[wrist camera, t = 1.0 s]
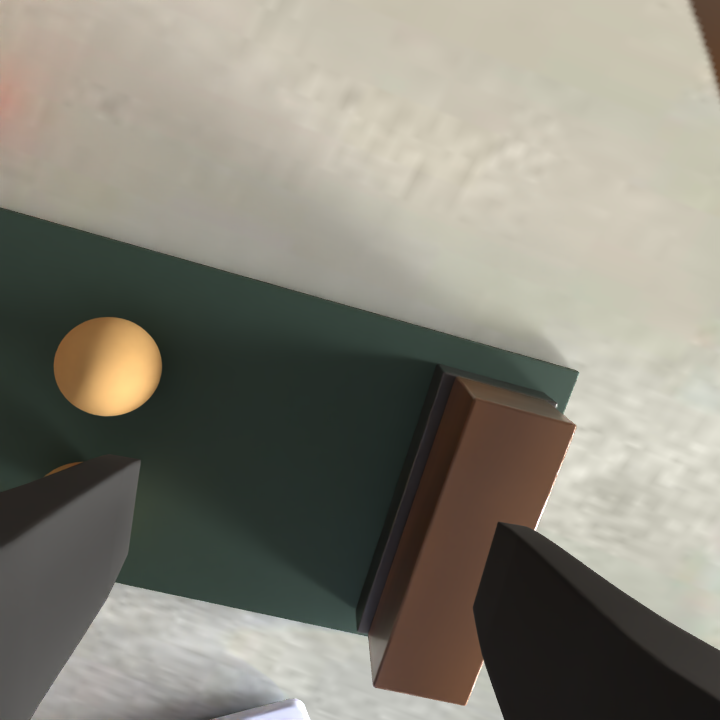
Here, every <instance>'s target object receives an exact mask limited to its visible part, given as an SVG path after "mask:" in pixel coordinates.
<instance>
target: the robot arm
mask: <svg viewBox="0 0 720 720" xmlns="http://www.w3.org/2000/svg"><path fill="white" fill-rule="evenodd" d="M140 463H141V459H135V458H129V457H123V456H118V455H112V454H107V455H102V456H99V457H96V458H93V459H90V460H87V461H85V462H82V463H79V464H77V465H74V466H72V467H69V468H66V469H64V470H61V471H58V472H56V473H53V474H51V475H48V476H45V477H43V478H40V479H37V480H35V481H32V482H29V483H27V484H24V485H21V486H18V487H15V488H12V489H9V490H6V491H3V492H0V720H30V719H31V717H32V716H33V714H34V712H35V711H36V709H37V707H38V705H39V704H40V702H41V701H42V699H43V698H44V696H45V695H46V693H47V692H48V690H49V688H50V687H51V685H52V684H53V682H54V681H55V679H56V678H57V676H58V674H59V673H60V671H61V670H62V668H63V667H64V665H65V664H66V662H67V661H68V659H69V657H70V656H71V654H72V653H73V651H74V650H75V648H76V647H77V645H78V644H79V642H80V640H81V639H82V637H83V636H84V634H85V633H86V631H87V629H88V628H89V626H90V625H91V623H92V622H93V620H94V618H95V617H96V615H97V614H98V612H99V611H100V609H101V607H102V606H103V604H104V603H105V601H106V599H107V597H108V595H109V593H110V591H111V589H112V587H113V585H114V583H115V581H116V579H117V577H118V574H119V572H120V570H121V568H122V566H123V563H124V561H125V559H126V557H127V555H128V549H129V542H130V535H131V528H132V521H133V513H134V506H135V499H136V492H137V485H138V478H139V470H140ZM473 613H474V619H475V624H476V630H477V635H478V639H479V644H480V649H481V653H482V657H483V660H484V663H485V666H486V669H487V672H488V675H489V677H490V680H491V683H492V686H493V689H494V692H495V695H496V698H497V700H498V703H499V706H500V709H501V712H502V714H503V717H504V720H720V650H718V649H716V648H714V647H713V646H711V645H709V644H707V643H705V642H704V641H702V640H700V639H698V638H697V637H695V636H693V635H691V634H690V633H688V632H686V631H684V630H682V629H681V628H679V627H677V626H676V625H674V624H672V623H671V622H669V621H667V620H666V619H664V618H662V617H661V616H659V615H658V614H656V613H655V612H653V611H652V610H650V609H648V608H647V607H645V606H644V605H642V604H641V603H639V602H638V601H636V600H635V599H633V598H632V597H630V596H629V595H627V594H626V593H624V592H623V591H621V590H620V589H618V588H617V587H615V586H614V585H613V584H611V583H610V582H608V581H607V580H605V579H604V578H603V577H601V576H600V575H598V574H597V573H596V572H594V571H593V570H591V569H590V568H589V567H587V566H586V565H584V564H583V563H582V562H580V561H579V560H577V559H576V558H575V557H573V556H572V555H570V554H569V553H568V552H566V551H565V550H563V549H562V548H561V547H559V546H558V545H556V544H555V543H553V542H552V541H550V540H549V539H547V538H546V537H544V536H543V535H541V534H540V533H538V532H536V531H535V530H533V529H531V528H529V527H527V526H521V525H516V524H510V523H504V522H498V523H497V527H496V530H495V533H494V537H493V540H492V544H491V547H490V550H489V554H488V557H487V561H486V564H485V567H484V571H483V574H482V577H481V581H480V584H479V588H478V591H477V594H476V598H475V601H474V604H473ZM210 720H309V717H308V714H307V711H306V708H305V705H304V704H303V702H301V701H300V700H298V699H294V698H293V699H286V700H283V701H279V702H275V703H271V704H267V705H264V706H260V707H256V708H252V709H248V710H244V711H241V712H237V713H233V714H229V715H225V716H221V717H218V718H214V719H210Z"/></svg>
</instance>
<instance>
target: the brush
mask: <svg viewBox="0 0 720 720" xmlns="http://www.w3.org/2000/svg"><path fill="white" fill-rule="evenodd" d="M556 407H557V402H555V401H554V400H553V399H552V398H550V397H549V396H548V395H547V394H545V393H544V392H540V391H537V390H533V389H529V388H526V387H522V386H518V385H515V384H511V383H508V382H504V381H500V380H497V379H493V378H489V377H486V376H482V375H479V374H475V373H471V372H468V371H464V370H460V369H457V368H453V367H450V366H446V365H442V364H437V365H436V368H435V371H434V374H433V377H432V380H431V383H430V386H429V389H428V392H427V395H426V399H425V402H424V405H423V408H422V411H421V414H420V417H419V420H418V423H417V426H416V429H415V432H414V435H413V438H412V441H411V444H410V447H409V450H408V453H407V456H406V459H405V462H404V465H403V468H402V471H401V474H400V477H399V480H398V483H397V486H396V489H395V492H394V495H393V498H392V501H391V504H390V507H389V510H388V513H387V516H386V519H385V522H384V525H383V528H382V531H381V534H380V537H379V541H378V544H377V547H376V550H375V553H374V556H373V559H372V562H371V565H370V568H369V571H368V574H367V577H366V580H365V583H364V586H363V589H362V592H361V595H360V598H359V601H358V604H357V607H356V610H355V611H356V625H357V632H359V633H364V634H368V640H369V650H370V661H371V671H372V682H373V687H375V688H379V689H384V690H389V691H394V692H399V693H404V694H409V695H414V696H419V697H424V698H428V699H433V700H438V701H443V702H448V703H453V704H458V705H463V706H465V705H467V702H468V700H469V697H470V695H471V692H472V690H473V687H474V685H475V682H476V679H477V677H478V674H479V672H480V669H481V667H482V664H483V662H484V660H483V657H482V653H481V649H480V644H479V639H478V635H477V630H476V624H475V619H474V613H473V604H474V601H475V598H476V594H477V591H478V588H479V584H480V581H481V577H482V574H483V571H484V567H485V564H486V561H487V557H488V554H489V550H490V547H491V544H492V540H493V537H494V533H495V530H496V527H497V523H498V522H504V523H510V524H516V525H521V526H527V527H529V528H531V529H533V530H535V531H536V528H537V526H538V523H539V521H540V518H541V516H542V513H543V511H544V508H545V506H546V503H547V501H548V498H549V496H550V493H551V491H552V488H553V486H554V483H555V480H556V478H557V475H558V473H559V470H560V468H561V465H562V463H563V460H564V458H565V455H566V453H567V450H568V448H569V445H570V443H571V440H572V438H573V435H574V433H575V430H576V425H575V424H574V423H573V422H572V421H570V420H569V419H568V418H567V417H566V416H564V415H563V414H562V413H561V412H559V411H558V410H557V409H556Z"/></svg>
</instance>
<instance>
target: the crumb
mask: <svg viewBox="0 0 720 720" xmlns="http://www.w3.org/2000/svg"><path fill="white" fill-rule="evenodd" d="M161 373H162V360H161V355H160V352H159V349H158V347H157V345H156V343H155V341H154V340H153V338H152V337H151V336H150V335H149V334H148V333H147V332H146V331H145V330H144V329H143V328H141V327H140V326H138V325H137V324H135V323H133V322H131V321H128V320H125V319H121V318H116V317H100V318H95V319H91V320H88V321H85V322H83V323H81V324H79V325H78V326H76V327H75V328H73V329H72V330H71V331H70V332H69V333H68V334H67V335H66V336H65V337H64V338H63V340H62V341H61V343H60V344H59V346H58V349H57V351H56V354H55V358H54V375H55V379H56V382H57V385H58V387H59V389H60V391H61V392H62V394H63V395H64V396H65V398H66V399H67V400H68V401H69V402H70V403H71V404H73V405H74V406H76V407H77V408H79V409H81V410H83V411H85V412H87V413H90V414H94V415H99V416H116V415H121V414H125V413H128V412H131V411H133V410H135V409H137V408H138V407H140V406H141V405H142V404H144V403H145V402H146V401H147V400H148V399H149V398H150V397H151V396H152V394H153V393H154V391H155V390H156V388H157V386H158V384H159V381H160V378H161Z"/></svg>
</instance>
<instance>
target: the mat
mask: <svg viewBox="0 0 720 720" xmlns="http://www.w3.org/2000/svg"><path fill="white" fill-rule="evenodd" d="M100 317H116V318H121V319H125V320H128V321H131V322H133V323H135V324H137V325H138V326H140V327H141V328H143V329H144V330H145V331H146V332H147V333H148V334H149V335H150V336H151V337H152V338H153V340H154V341H155V343H156V345H157V347H158V349H159V352H160V355H161V360H162V373H161V378H160V381H159V384H158V386H157V388H156V390H155V391H154V393H153V394H152V396H151V397H150V398H149V399H148V400H147V401H146V402H145V403H144V404H142V405H141V406H140V407H138V408H137V409H135V410H133V411H131V412H128V413H125V414H121V415H116V416H99V415H94V414H90V413H87V412H85V411H83V410H81V409H79V408H77V407H76V406H74V405H73V404H71V403H70V402H69V401H68V400H67V399H66V398H65V396H64V395H63V394H62V392H61V391H60V389H59V387H58V385H57V382H56V379H55V375H54V358H55V354H56V351H57V349H58V346H59V344H60V343H61V341H62V340H63V338H64V337H65V336H66V335H67V334H68V333H69V332H70V331H71V330H72V329H73V328H75V327H76V326H78V325H79V324H81V323H83V322H85V321H88V320H91V319H95V318H100ZM437 364H442V365H446V366H450V367H453V368H457V369H460V370H464V371H468V372H471V373H475V374H479V375H482V376H486V377H489V378H493V379H497V380H500V381H504V382H508V383H511V384H515V385H518V386H522V387H526V388H529V389H533V390H537V391H540V392H544V393H545V394H547V395H548V396H549V397H550V398H552V399H553V400H554V401H555V402H557V407H556V409H557V410H558V411H559V412H561V413H562V414H564V411H565V409H566V406H567V403H568V401H569V398H570V396H571V393H572V391H573V388H574V385H575V383H576V380H577V378H578V375H579V372H578V371H576V370H573V369H570V368H566V367H563V366H559V365H555V364H552V363H548V362H545V361H541V360H538V359H534V358H531V357H527V356H524V355H520V354H517V353H513V352H509V351H506V350H502V349H499V348H495V347H492V346H488V345H485V344H481V343H478V342H474V341H471V340H467V339H464V338H460V337H456V336H453V335H449V334H446V333H442V332H439V331H435V330H432V329H428V328H425V327H421V326H418V325H414V324H411V323H407V322H403V321H400V320H396V319H393V318H389V317H386V316H382V315H379V314H375V313H372V312H368V311H365V310H361V309H357V308H354V307H350V306H347V305H343V304H340V303H336V302H333V301H329V300H326V299H322V298H319V297H315V296H312V295H308V294H304V293H301V292H297V291H294V290H290V289H287V288H283V287H280V286H276V285H273V284H269V283H266V282H262V281H259V280H255V279H251V278H248V277H244V276H241V275H237V274H234V273H230V272H227V271H223V270H220V269H216V268H213V267H209V266H206V265H202V264H198V263H195V262H191V261H188V260H184V259H181V258H177V257H174V256H170V255H167V254H163V253H160V252H156V251H152V250H149V249H145V248H142V247H138V246H135V245H131V244H128V243H124V242H121V241H117V240H114V239H110V238H107V237H103V236H99V235H96V234H92V233H89V232H85V231H82V230H78V229H75V228H71V227H68V226H64V225H61V224H57V223H54V222H50V221H46V220H43V219H39V218H36V217H32V216H29V215H25V214H22V213H18V212H15V211H11V210H8V209H4V208H0V492H3V491H6V490H9V489H12V488H15V487H18V486H21V485H24V484H27V483H29V482H32V481H35V480H37V479H40V478H43V477H44V476H45V475H47V474H48V473H50V472H51V471H53V470H54V469H56V468H58V467H61V466H63V465H66V464H70V463H76V462H85V461H87V460H90V459H93V458H96V457H99V456H102V455H107V454H112V455H118V456H123V457H129V458H135V459H141V463H140V470H139V478H138V485H137V492H136V499H135V506H134V513H133V521H132V528H131V535H130V542H129V549H128V555H127V557H126V559H125V561H124V563H123V566H122V568H121V570H120V572H119V574H118V577H117V579H116V581H115V582H116V583H121V584H125V585H130V586H135V587H139V588H144V589H149V590H154V591H158V592H163V593H168V594H172V595H177V596H182V597H186V598H191V599H196V600H200V601H205V602H210V603H214V604H219V605H224V606H228V607H233V608H238V609H242V610H247V611H252V612H256V613H261V614H266V615H271V616H275V617H280V618H285V619H289V620H294V621H299V622H303V623H308V624H313V625H317V626H322V627H327V628H331V629H336V630H341V631H345V632H350V633H355V634H359V635H364V636H368V634H364V633H359V632H357V625H356V611H355V610H356V607H357V604H358V601H359V598H360V595H361V592H362V589H363V586H364V583H365V580H366V577H367V574H368V571H369V568H370V565H371V562H372V559H373V556H374V553H375V550H376V547H377V544H378V541H379V537H380V534H381V531H382V528H383V525H384V522H385V519H386V516H387V513H388V510H389V507H390V504H391V501H392V498H393V495H394V492H395V489H396V486H397V483H398V480H399V477H400V474H401V471H402V468H403V465H404V462H405V459H406V456H407V453H408V450H409V447H410V444H411V441H412V438H413V435H414V432H415V429H416V426H417V423H418V420H419V417H420V414H421V411H422V408H423V405H424V402H425V399H426V395H427V392H428V389H429V386H430V383H431V380H432V377H433V374H434V371H435V368H436V365H437Z"/></svg>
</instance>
